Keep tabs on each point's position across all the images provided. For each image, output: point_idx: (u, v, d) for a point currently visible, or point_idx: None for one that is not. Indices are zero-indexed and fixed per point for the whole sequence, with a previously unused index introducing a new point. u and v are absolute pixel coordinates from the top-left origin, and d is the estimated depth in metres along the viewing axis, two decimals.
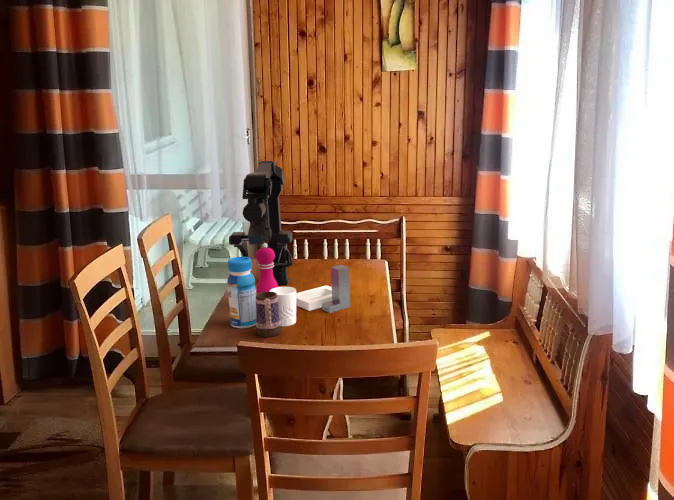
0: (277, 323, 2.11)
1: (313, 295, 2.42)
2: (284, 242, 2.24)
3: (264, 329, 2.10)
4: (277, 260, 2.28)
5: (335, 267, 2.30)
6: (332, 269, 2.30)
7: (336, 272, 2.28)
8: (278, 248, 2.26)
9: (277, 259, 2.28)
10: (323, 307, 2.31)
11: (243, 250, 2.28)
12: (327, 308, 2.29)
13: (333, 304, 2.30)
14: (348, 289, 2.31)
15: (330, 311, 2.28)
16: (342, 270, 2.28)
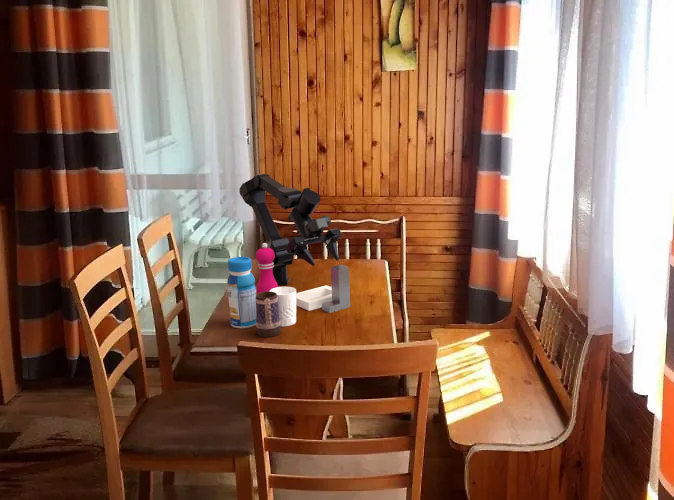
0: (277, 323, 2.11)
1: (313, 295, 2.42)
2: (338, 232, 2.40)
3: (264, 329, 2.10)
4: (337, 254, 2.38)
5: (335, 267, 2.30)
6: (332, 269, 2.30)
7: (336, 272, 2.28)
8: (334, 241, 2.39)
9: (336, 253, 2.38)
10: (323, 307, 2.31)
11: (306, 249, 2.33)
12: (327, 308, 2.29)
13: (333, 304, 2.30)
14: (348, 289, 2.31)
15: (330, 311, 2.28)
16: (342, 270, 2.28)
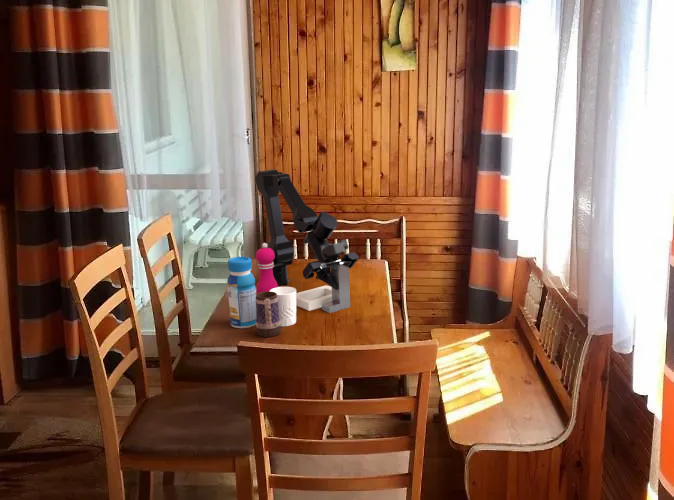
0: (277, 323, 2.11)
1: (313, 295, 2.42)
2: (355, 257, 2.36)
3: (264, 329, 2.10)
4: None
5: (335, 267, 2.30)
6: (332, 269, 2.30)
7: (336, 272, 2.28)
8: None
9: None
10: (323, 307, 2.31)
11: (330, 273, 2.30)
12: (327, 308, 2.29)
13: (333, 304, 2.30)
14: (348, 289, 2.31)
15: (330, 311, 2.28)
16: (342, 270, 2.28)
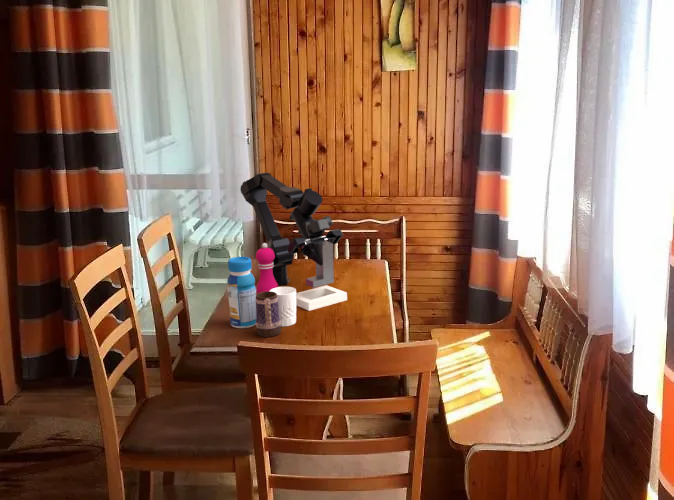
0: (277, 323, 2.11)
1: (313, 295, 2.42)
2: (339, 233, 2.40)
3: (264, 329, 2.10)
4: None
5: (319, 243, 2.34)
6: (316, 245, 2.34)
7: (321, 248, 2.33)
8: None
9: None
10: (307, 282, 2.35)
11: (314, 249, 2.34)
12: (311, 283, 2.34)
13: (317, 279, 2.35)
14: (332, 265, 2.36)
15: (314, 286, 2.33)
16: (326, 246, 2.33)
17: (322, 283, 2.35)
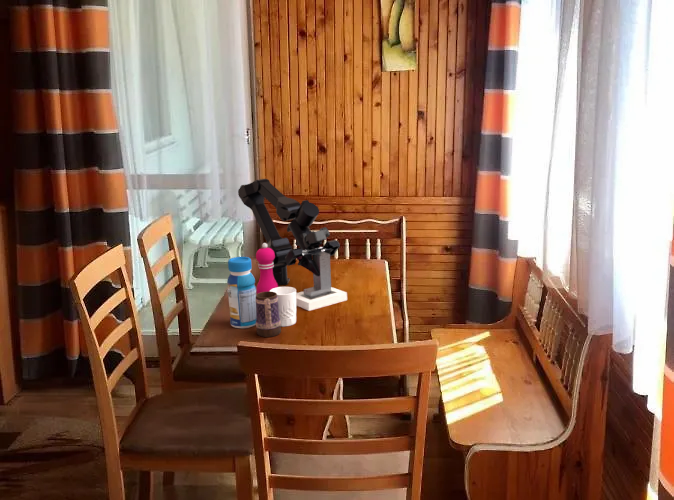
0: (277, 323, 2.11)
1: None
2: (336, 244, 2.43)
3: (264, 329, 2.10)
4: None
5: (316, 254, 2.37)
6: (314, 256, 2.37)
7: (318, 259, 2.35)
8: None
9: None
10: (304, 292, 2.38)
11: (311, 260, 2.37)
12: (309, 294, 2.36)
13: (314, 290, 2.37)
14: (329, 275, 2.38)
15: (311, 296, 2.35)
16: (323, 257, 2.35)
17: (320, 294, 2.37)
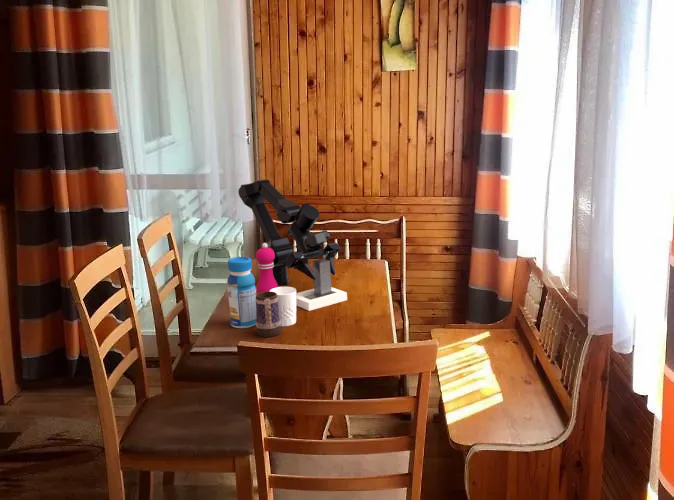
0: (277, 323, 2.11)
1: None
2: (336, 247, 2.43)
3: (264, 329, 2.10)
4: (333, 268, 2.40)
5: (316, 261, 2.38)
6: (314, 263, 2.38)
7: (318, 266, 2.36)
8: (331, 256, 2.41)
9: (333, 267, 2.40)
10: None
11: (307, 264, 2.36)
12: None
13: (315, 297, 2.37)
14: (329, 282, 2.39)
15: None
16: (323, 263, 2.36)
17: None
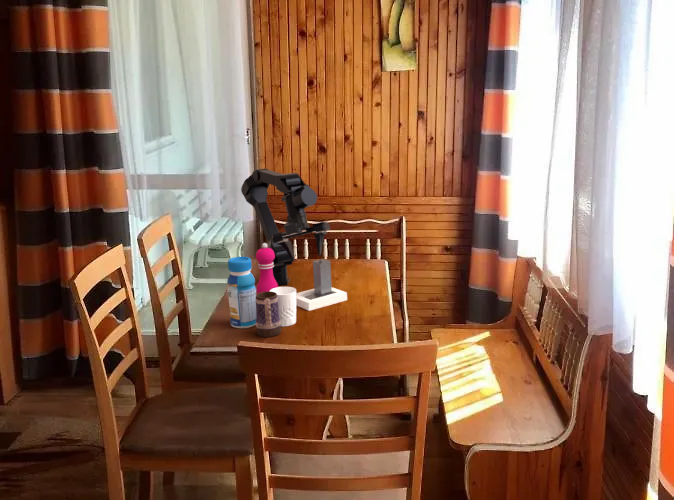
0: (277, 323, 2.11)
1: None
2: (320, 229, 2.38)
3: (264, 329, 2.10)
4: (318, 250, 2.40)
5: (317, 261, 2.37)
6: (314, 263, 2.37)
7: (318, 266, 2.36)
8: (316, 237, 2.39)
9: (318, 249, 2.40)
10: None
11: (286, 246, 2.43)
12: None
13: (315, 297, 2.37)
14: (330, 282, 2.39)
15: None
16: (324, 264, 2.36)
17: None
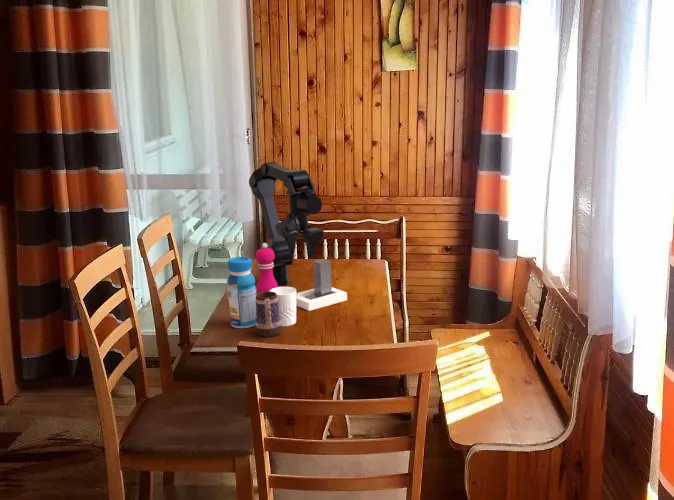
0: (277, 323, 2.11)
1: None
2: (306, 238, 2.35)
3: (264, 329, 2.10)
4: (307, 254, 2.40)
5: (317, 261, 2.37)
6: (314, 263, 2.37)
7: (318, 266, 2.36)
8: (306, 243, 2.38)
9: (307, 253, 2.40)
10: None
11: (286, 239, 2.46)
12: None
13: (315, 297, 2.37)
14: (330, 282, 2.39)
15: None
16: (324, 264, 2.36)
17: None
